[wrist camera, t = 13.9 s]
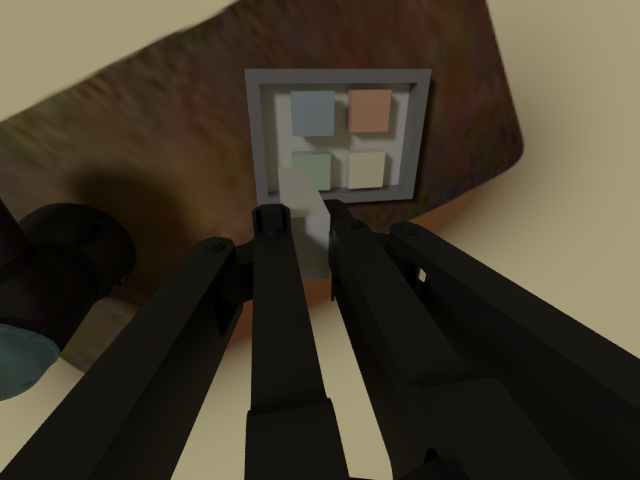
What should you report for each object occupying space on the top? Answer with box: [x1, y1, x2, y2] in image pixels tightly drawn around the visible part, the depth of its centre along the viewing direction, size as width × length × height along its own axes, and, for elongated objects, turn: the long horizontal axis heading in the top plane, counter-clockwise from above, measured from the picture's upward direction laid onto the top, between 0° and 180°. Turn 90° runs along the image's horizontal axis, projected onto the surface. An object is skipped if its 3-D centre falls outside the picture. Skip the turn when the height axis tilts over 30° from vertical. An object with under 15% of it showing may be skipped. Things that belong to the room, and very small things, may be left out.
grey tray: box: [244, 69, 431, 206], centre depth 45 cm, size 24×18×3 cm
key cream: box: [345, 148, 386, 189], centre depth 47 cm, size 5×5×2 cm
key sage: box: [292, 150, 331, 191], centre depth 46 cm, size 5×5×2 cm
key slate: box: [290, 90, 335, 137], centre depth 40 cm, size 5×5×2 cm
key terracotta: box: [347, 89, 392, 132], centre depth 43 cm, size 5×5×2 cm
